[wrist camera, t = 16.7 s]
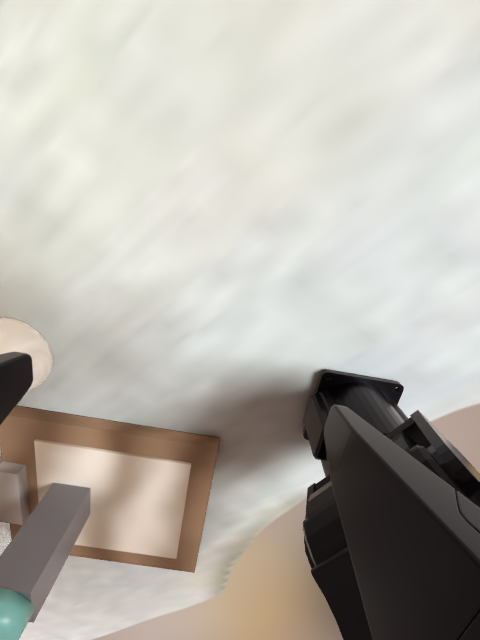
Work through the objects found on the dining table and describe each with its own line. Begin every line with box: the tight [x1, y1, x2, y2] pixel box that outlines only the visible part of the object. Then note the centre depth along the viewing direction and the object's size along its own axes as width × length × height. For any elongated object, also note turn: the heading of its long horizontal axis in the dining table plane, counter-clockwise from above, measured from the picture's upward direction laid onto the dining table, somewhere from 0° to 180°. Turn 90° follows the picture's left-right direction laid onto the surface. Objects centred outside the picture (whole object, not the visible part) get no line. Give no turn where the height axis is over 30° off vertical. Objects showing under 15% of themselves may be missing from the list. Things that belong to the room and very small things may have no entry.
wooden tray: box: [0, 406, 220, 572], centre depth 27 cm, size 18×16×2 cm
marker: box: [0, 483, 91, 640], centre depth 22 cm, size 3×3×9 cm
